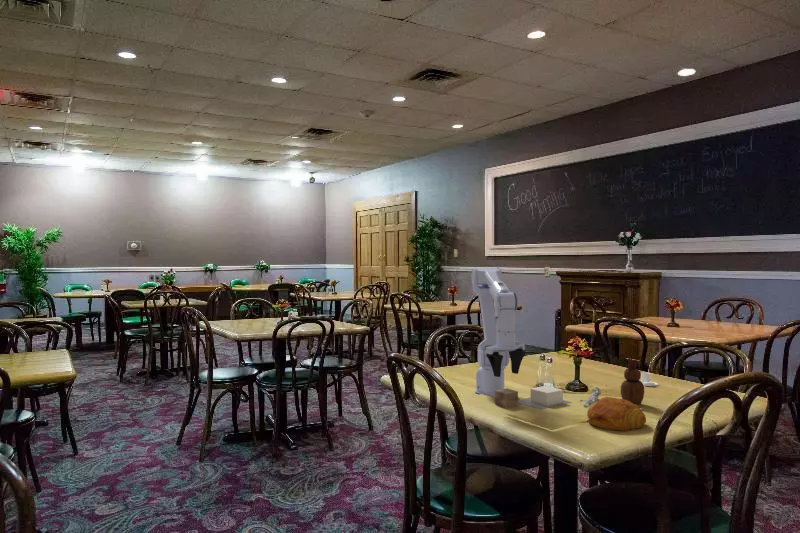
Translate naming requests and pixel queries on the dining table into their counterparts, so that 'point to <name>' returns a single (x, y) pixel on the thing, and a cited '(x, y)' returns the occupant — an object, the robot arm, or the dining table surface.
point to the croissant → (615, 414)
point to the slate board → (539, 406)
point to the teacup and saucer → (647, 380)
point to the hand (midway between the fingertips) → (506, 374)
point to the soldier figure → (592, 397)
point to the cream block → (546, 395)
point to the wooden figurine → (632, 384)
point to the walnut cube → (506, 398)
